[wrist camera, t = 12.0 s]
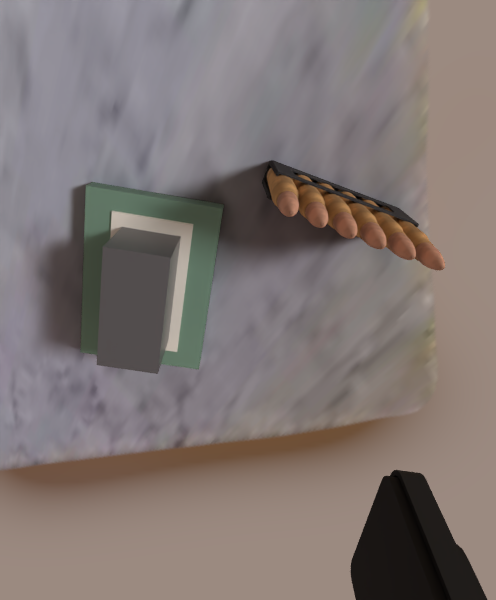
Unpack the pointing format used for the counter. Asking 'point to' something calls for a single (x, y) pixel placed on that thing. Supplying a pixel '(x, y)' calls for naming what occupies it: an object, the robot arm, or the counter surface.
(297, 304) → the counter surface
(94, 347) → the header board
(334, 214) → the ammunition clip
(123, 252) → the block
